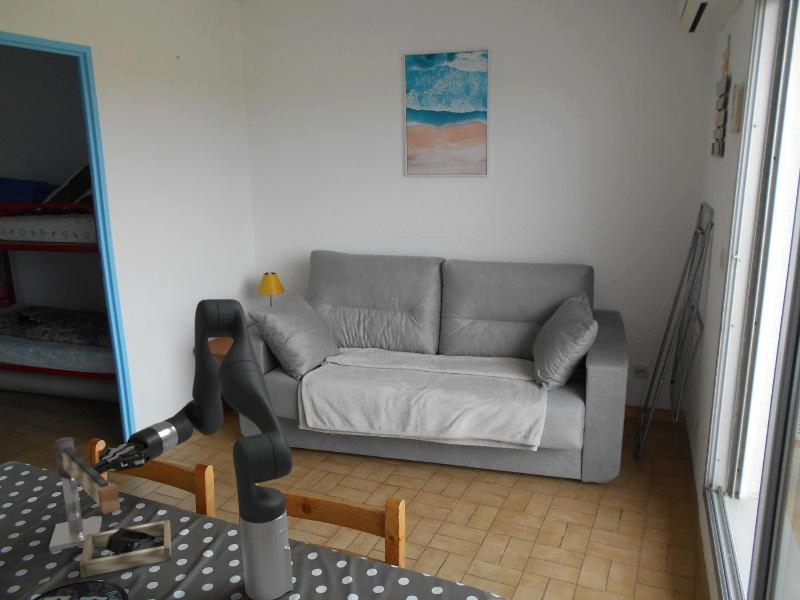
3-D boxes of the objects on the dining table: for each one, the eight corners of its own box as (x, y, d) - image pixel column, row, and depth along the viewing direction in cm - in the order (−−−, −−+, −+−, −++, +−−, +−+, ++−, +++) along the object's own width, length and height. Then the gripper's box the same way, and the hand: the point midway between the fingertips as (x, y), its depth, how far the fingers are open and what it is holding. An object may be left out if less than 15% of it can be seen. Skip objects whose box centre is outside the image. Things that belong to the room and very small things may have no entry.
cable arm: (56, 473, 151) (51, 441, 149) (74, 467, 153) (70, 435, 152) (102, 522, 130) (98, 485, 128) (123, 514, 132) (118, 478, 131)
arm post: (102, 520, 160) (94, 461, 157) (97, 542, 151) (89, 480, 148) (56, 528, 157) (48, 468, 154) (49, 551, 148) (40, 488, 144)
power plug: (164, 536, 151) (125, 530, 141) (151, 570, 149) (111, 566, 139) (146, 530, 154) (107, 524, 144) (134, 564, 151) (94, 560, 141)
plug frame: (170, 531, 155) (169, 519, 154) (170, 559, 144) (169, 547, 143) (87, 546, 149) (86, 534, 149) (81, 577, 138) (79, 565, 138)
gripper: (132, 422, 159) (68, 451, 144) (171, 431, 153) (109, 462, 138) (135, 450, 161) (73, 482, 146) (175, 461, 155) (113, 494, 140)
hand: (90, 472), depth 142 cm, fingers closed
